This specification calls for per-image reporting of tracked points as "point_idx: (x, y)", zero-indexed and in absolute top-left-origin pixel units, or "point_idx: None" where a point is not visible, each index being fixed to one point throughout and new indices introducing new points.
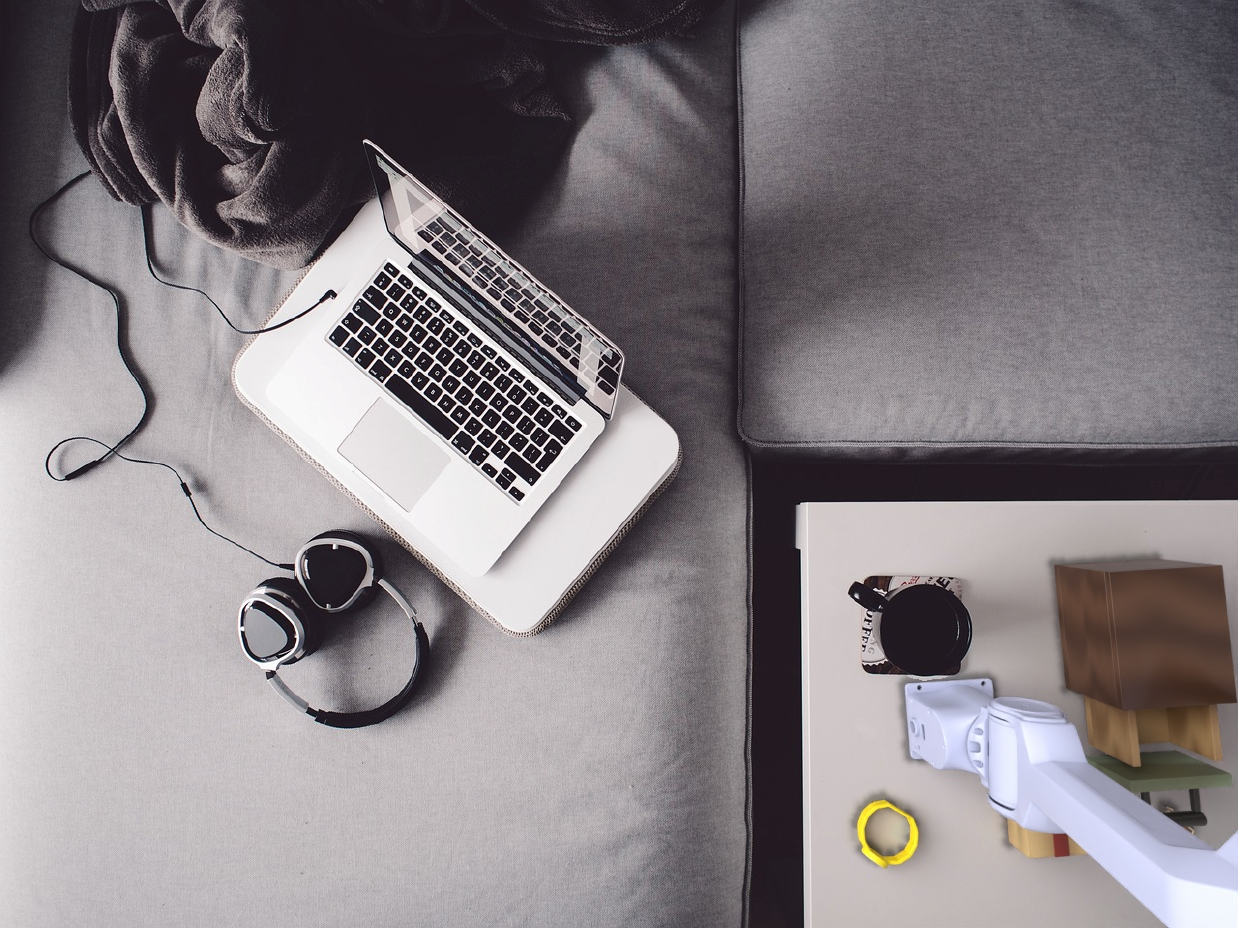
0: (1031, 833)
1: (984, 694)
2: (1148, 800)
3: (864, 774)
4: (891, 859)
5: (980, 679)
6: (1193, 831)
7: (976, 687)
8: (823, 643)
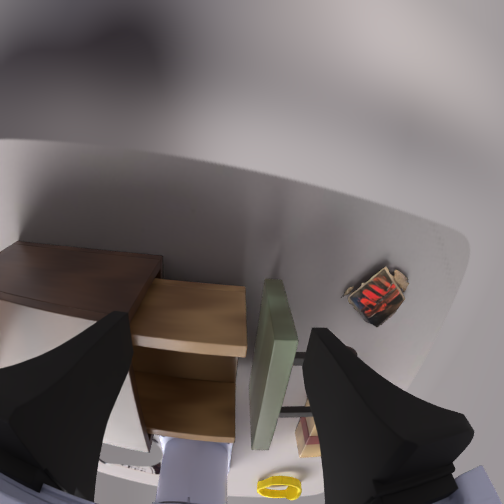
0: (305, 455)
1: (161, 467)
2: (294, 415)
3: (237, 484)
4: (297, 489)
5: (159, 436)
6: (385, 268)
7: (167, 440)
8: (142, 481)
